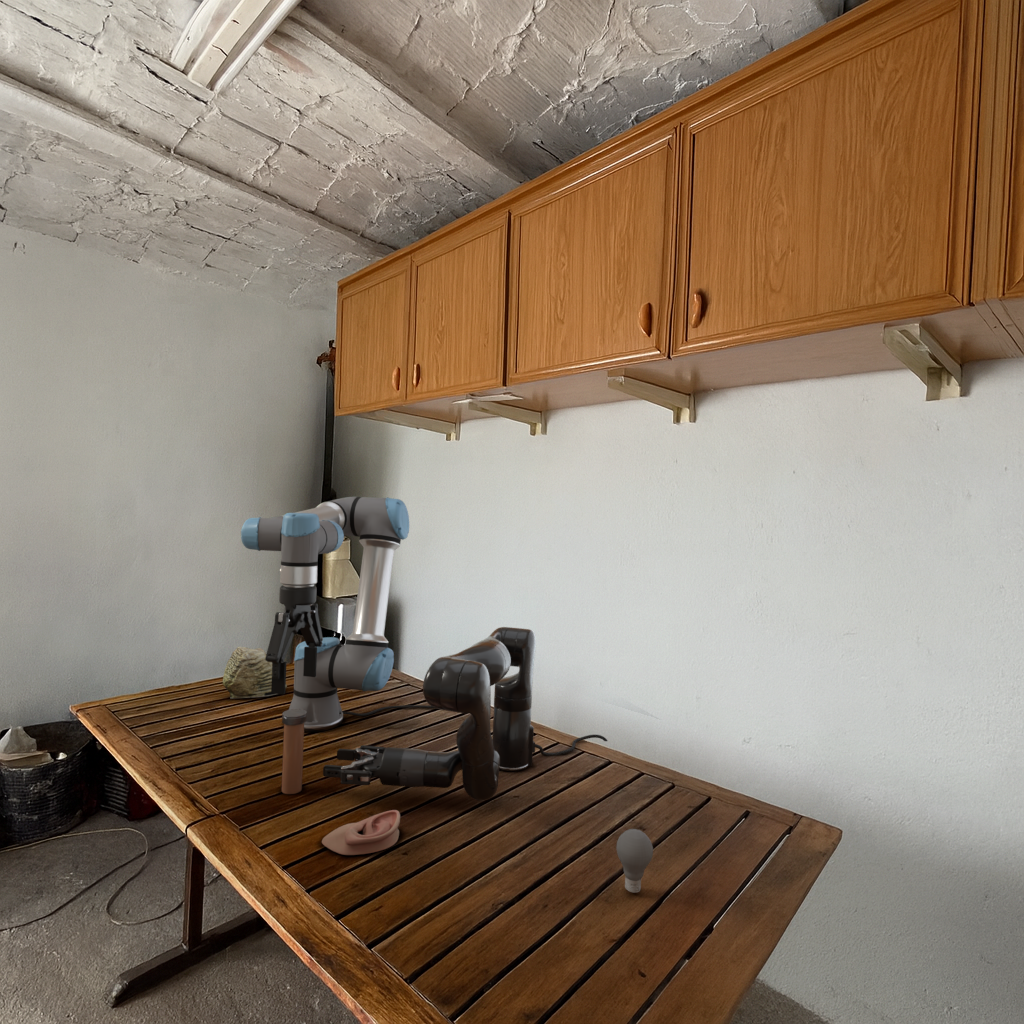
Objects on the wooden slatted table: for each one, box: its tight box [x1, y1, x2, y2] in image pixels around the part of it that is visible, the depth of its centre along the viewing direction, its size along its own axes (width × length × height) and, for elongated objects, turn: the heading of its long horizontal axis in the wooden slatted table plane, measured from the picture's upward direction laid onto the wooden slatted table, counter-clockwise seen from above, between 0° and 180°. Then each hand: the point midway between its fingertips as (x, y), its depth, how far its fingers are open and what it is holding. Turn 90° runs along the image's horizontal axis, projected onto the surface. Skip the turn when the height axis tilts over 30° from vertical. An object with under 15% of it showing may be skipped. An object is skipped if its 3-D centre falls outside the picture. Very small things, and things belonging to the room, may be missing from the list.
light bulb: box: [615, 828, 654, 894], centre depth 106 cm, size 6×6×10 cm
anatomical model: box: [321, 809, 401, 856], centre depth 118 cm, size 13×4×12 cm
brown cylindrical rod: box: [281, 723, 305, 795], centre depth 136 cm, size 4×4×16 cm
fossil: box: [222, 646, 288, 699], centre depth 198 cm, size 9×18×15 cm, turn 132°
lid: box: [281, 709, 307, 725], centre depth 136 cm, size 5×5×2 cm
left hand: (294, 684), depth 136 cm, fingers open, 12 cm apart
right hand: (330, 762), depth 135 cm, fingers open, 8 cm apart
